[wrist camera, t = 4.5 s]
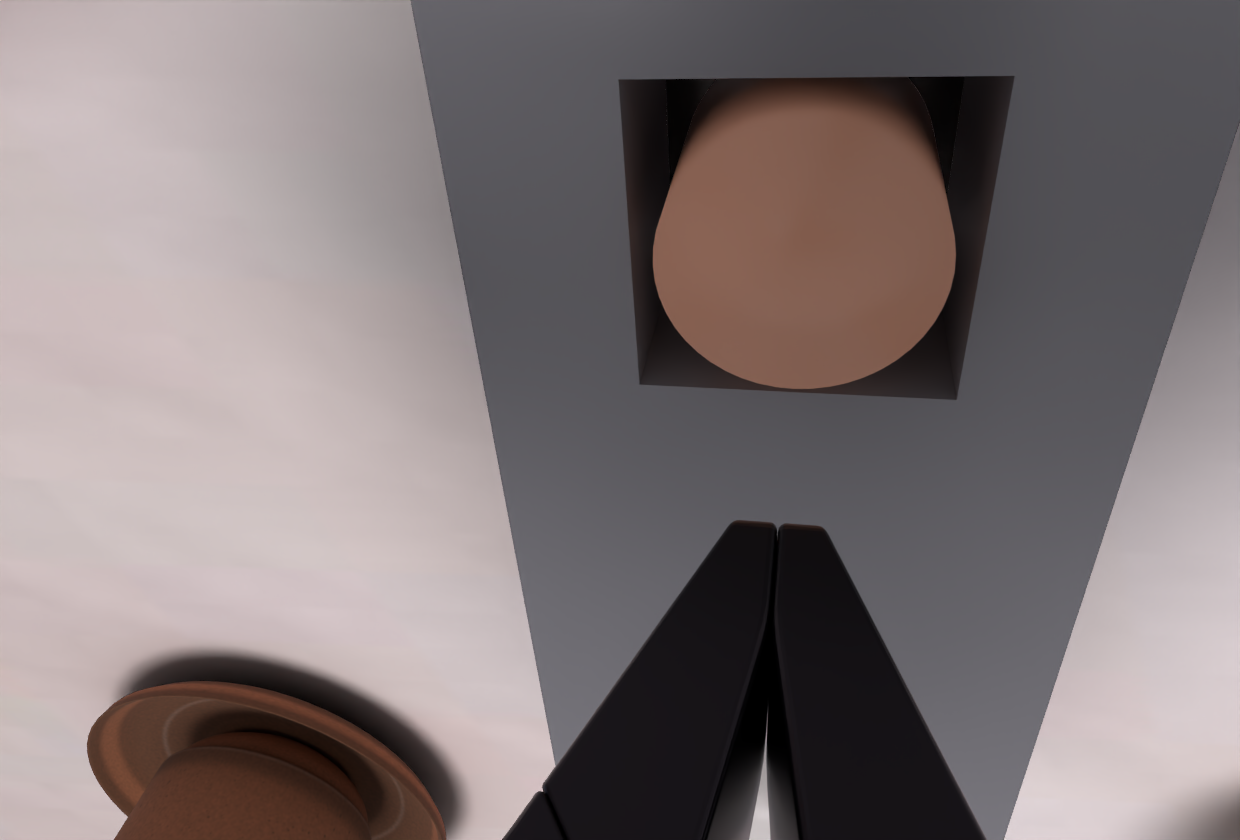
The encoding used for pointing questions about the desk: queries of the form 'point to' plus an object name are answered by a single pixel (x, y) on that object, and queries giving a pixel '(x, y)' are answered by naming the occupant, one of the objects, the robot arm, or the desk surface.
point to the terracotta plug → (806, 229)
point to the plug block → (852, 412)
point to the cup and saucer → (251, 769)
